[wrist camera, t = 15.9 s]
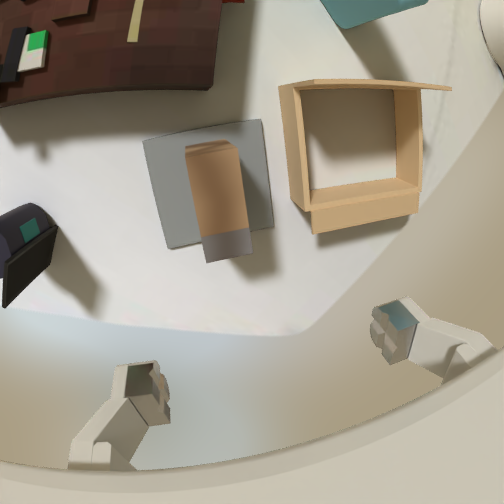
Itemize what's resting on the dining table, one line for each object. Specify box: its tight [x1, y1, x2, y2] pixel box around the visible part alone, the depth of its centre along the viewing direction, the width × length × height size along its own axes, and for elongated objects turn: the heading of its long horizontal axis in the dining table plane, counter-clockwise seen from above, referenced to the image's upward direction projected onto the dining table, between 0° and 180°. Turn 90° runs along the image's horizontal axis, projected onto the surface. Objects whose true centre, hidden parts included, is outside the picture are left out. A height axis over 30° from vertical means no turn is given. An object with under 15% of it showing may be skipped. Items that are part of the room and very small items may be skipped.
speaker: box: [0, 203, 58, 308], centre depth 25 cm, size 8×6×10 cm
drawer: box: [278, 79, 452, 234], centre depth 29 cm, size 15×15×10 cm
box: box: [185, 139, 253, 263], centre depth 28 cm, size 4×9×8 cm, turn 7°
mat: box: [142, 119, 274, 249], centre depth 32 cm, size 12×12×1 cm
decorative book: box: [0, 0, 244, 108], centre depth 18 cm, size 19×8×30 cm
